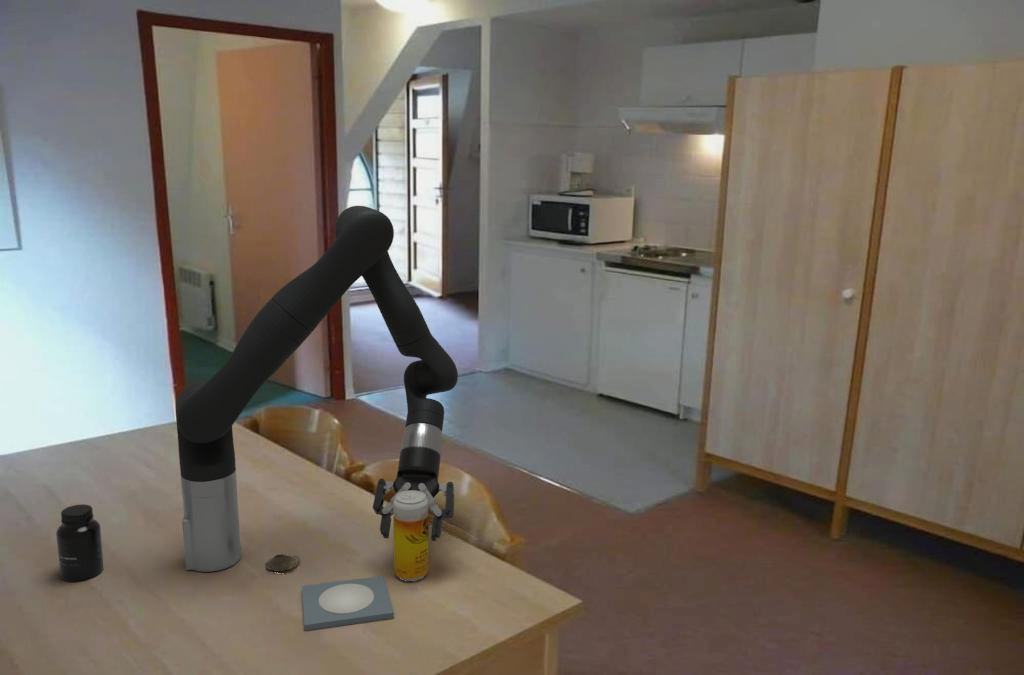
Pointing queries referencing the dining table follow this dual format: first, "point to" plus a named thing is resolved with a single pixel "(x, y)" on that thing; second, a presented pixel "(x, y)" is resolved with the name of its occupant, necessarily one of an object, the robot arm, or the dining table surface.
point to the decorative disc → (282, 564)
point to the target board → (346, 602)
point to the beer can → (410, 535)
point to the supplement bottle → (79, 544)
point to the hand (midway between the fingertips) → (409, 538)
